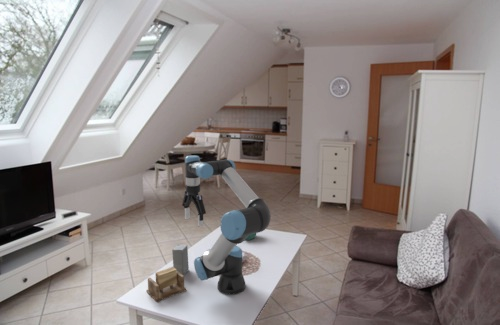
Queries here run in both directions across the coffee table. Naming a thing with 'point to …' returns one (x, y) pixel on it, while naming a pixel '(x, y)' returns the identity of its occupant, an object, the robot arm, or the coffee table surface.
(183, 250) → the skincare box
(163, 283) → the light wooden block
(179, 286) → the peg frame
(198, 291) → the coffee table surface
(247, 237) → the mug
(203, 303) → the coffee table surface
